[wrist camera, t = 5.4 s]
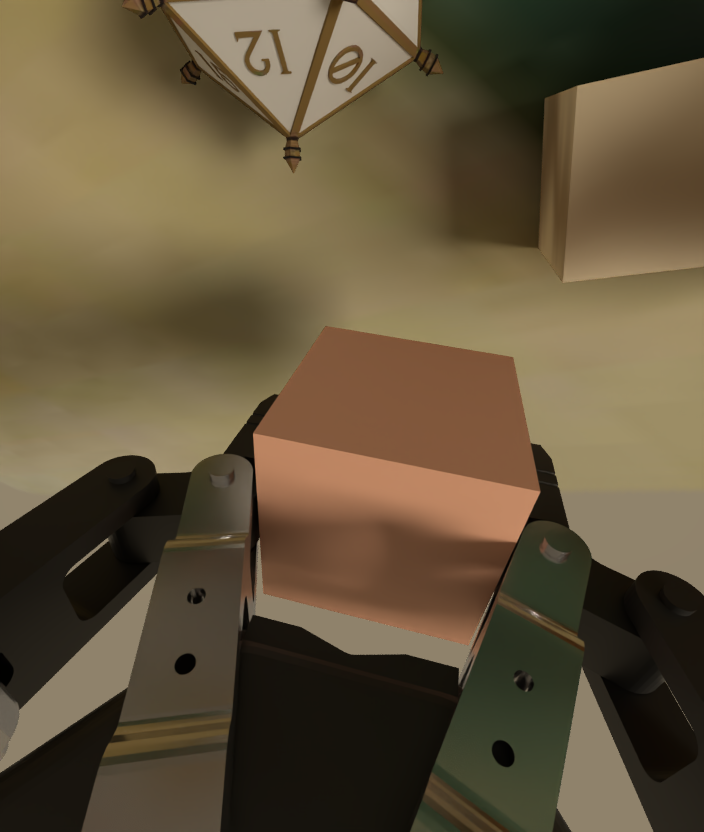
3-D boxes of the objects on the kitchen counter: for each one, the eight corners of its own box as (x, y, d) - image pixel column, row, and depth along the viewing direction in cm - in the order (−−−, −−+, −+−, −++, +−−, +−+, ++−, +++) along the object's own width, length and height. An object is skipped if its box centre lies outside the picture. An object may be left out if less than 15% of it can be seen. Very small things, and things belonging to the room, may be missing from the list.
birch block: (544, 98, 15) (577, 85, 11) (714, 61, 14) (823, 31, 10) (538, 247, 18) (562, 282, 13) (680, 228, 16) (756, 260, 12)
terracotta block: (325, 325, 12) (253, 432, 8) (513, 357, 11) (540, 491, 7) (319, 463, 15) (263, 593, 11) (467, 494, 14) (468, 645, 10)
